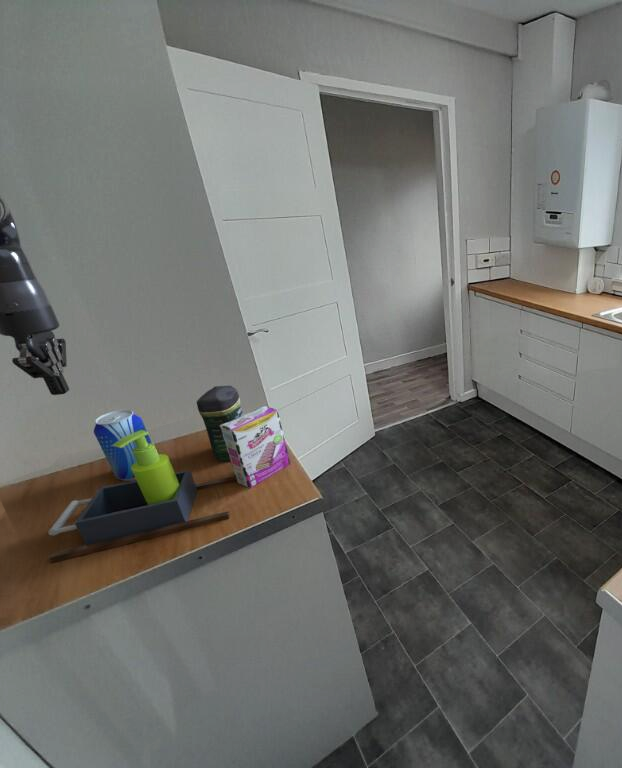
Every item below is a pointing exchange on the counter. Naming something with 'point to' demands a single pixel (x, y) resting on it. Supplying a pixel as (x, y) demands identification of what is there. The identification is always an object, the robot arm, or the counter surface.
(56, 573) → the counter surface
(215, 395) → the coffee jar
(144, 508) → the tray
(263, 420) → the candy bar box
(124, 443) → the soap dispenser
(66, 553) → the rails
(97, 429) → the beer can
